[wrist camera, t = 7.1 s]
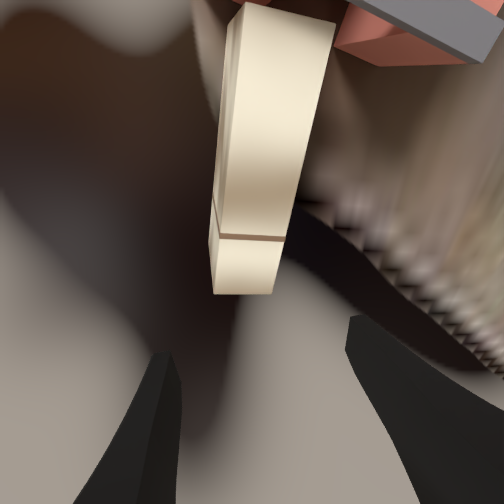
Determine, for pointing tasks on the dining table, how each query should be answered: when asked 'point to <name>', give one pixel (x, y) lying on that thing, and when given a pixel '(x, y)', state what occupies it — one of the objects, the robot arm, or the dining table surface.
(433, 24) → the dispenser
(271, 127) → the cream block
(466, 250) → the dining table surface
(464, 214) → the dining table surface
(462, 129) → the dining table surface
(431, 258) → the dining table surface
